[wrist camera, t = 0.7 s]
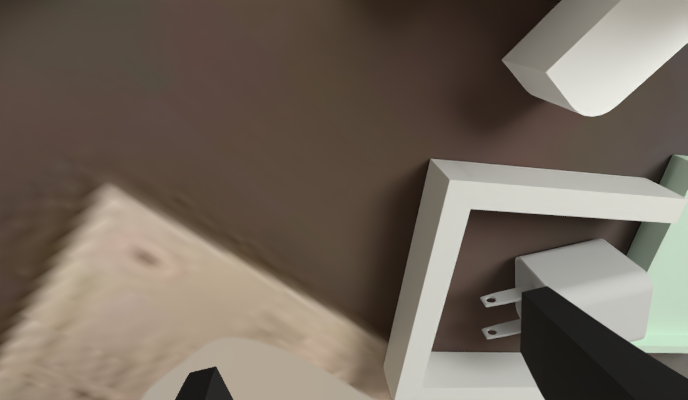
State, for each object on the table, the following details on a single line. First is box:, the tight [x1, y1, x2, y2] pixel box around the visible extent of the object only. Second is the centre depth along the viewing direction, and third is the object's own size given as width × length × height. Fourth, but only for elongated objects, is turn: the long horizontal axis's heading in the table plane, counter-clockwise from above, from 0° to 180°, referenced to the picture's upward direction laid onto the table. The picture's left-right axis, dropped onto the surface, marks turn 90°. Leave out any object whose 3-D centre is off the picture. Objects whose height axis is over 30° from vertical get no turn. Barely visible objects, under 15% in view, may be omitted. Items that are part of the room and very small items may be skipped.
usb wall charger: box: [480, 238, 653, 342], centre depth 21 cm, size 4×7×4 cm, turn 101°
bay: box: [383, 159, 688, 400], centre depth 22 cm, size 12×11×2 cm
